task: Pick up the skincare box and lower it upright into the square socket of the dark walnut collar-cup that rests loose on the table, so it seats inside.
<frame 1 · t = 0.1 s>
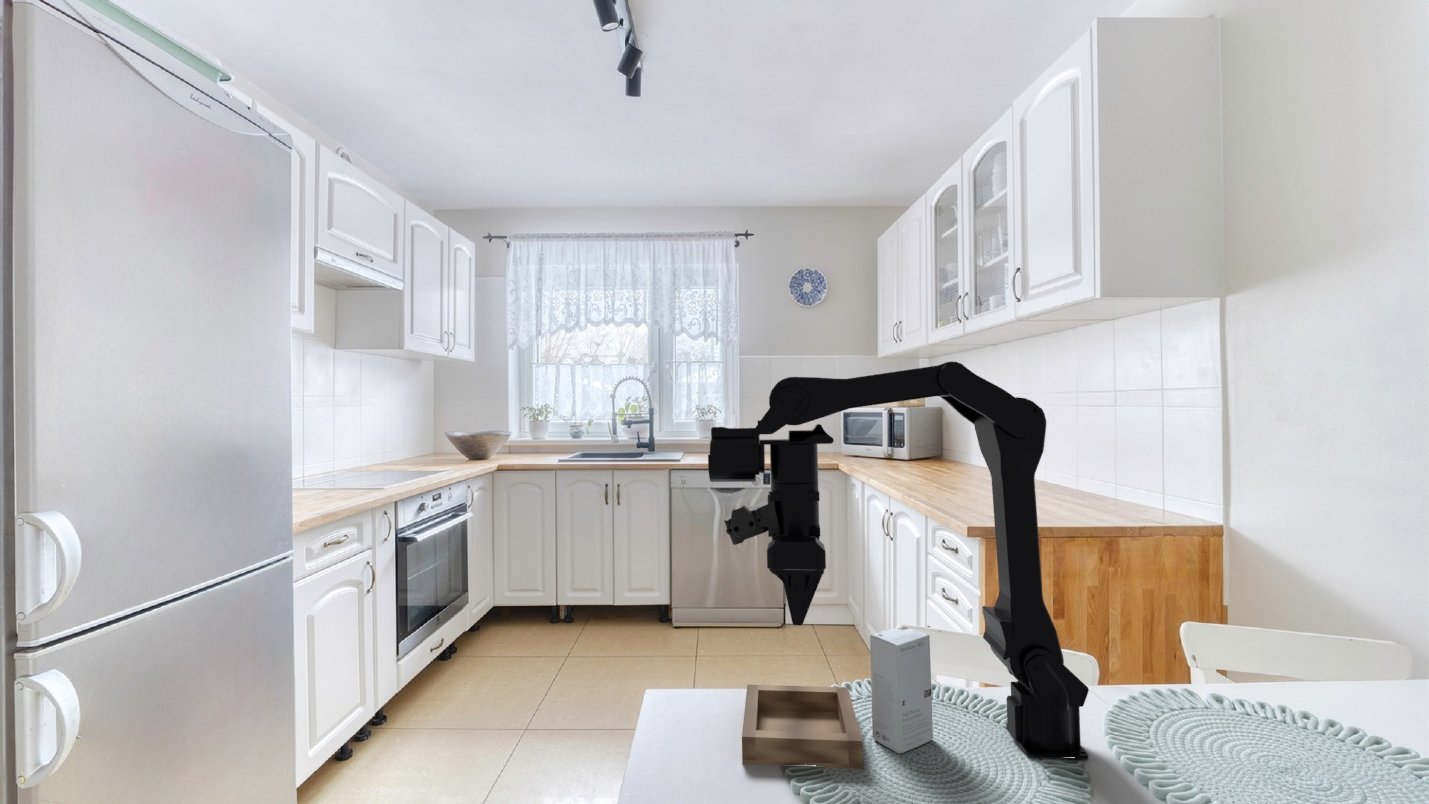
hand: (797, 611, 72), 15 cm above the table, fingers open, 9 cm apart
skincare box: (902, 740, 70), on the table
walnut collar: (799, 738, 71), on the table
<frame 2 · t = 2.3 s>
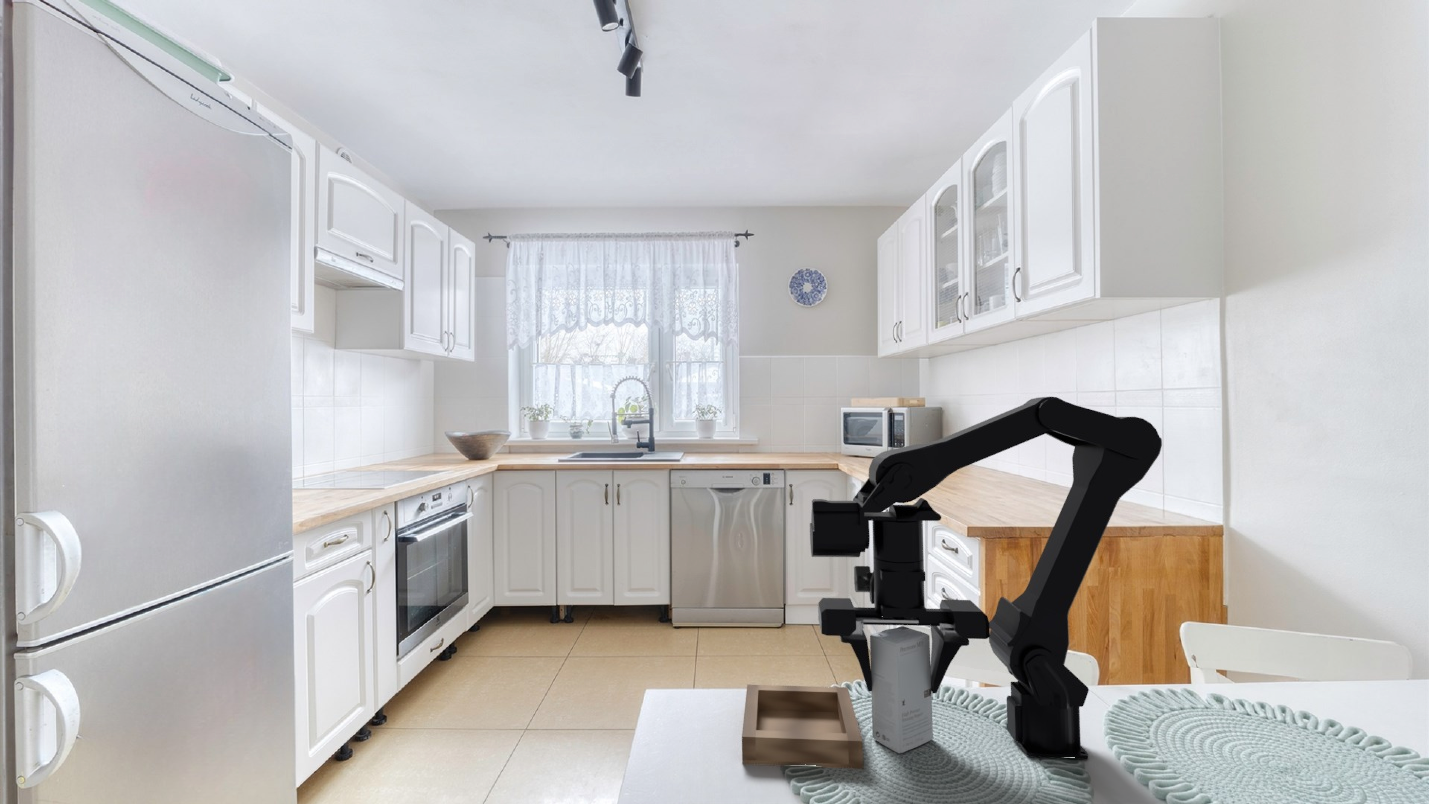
hand: (901, 690, 70), 6 cm above the table, fingers closed on skincare box, 7 cm apart
skincare box: (902, 740, 70), on the table, touching gripper
everything else where it was.
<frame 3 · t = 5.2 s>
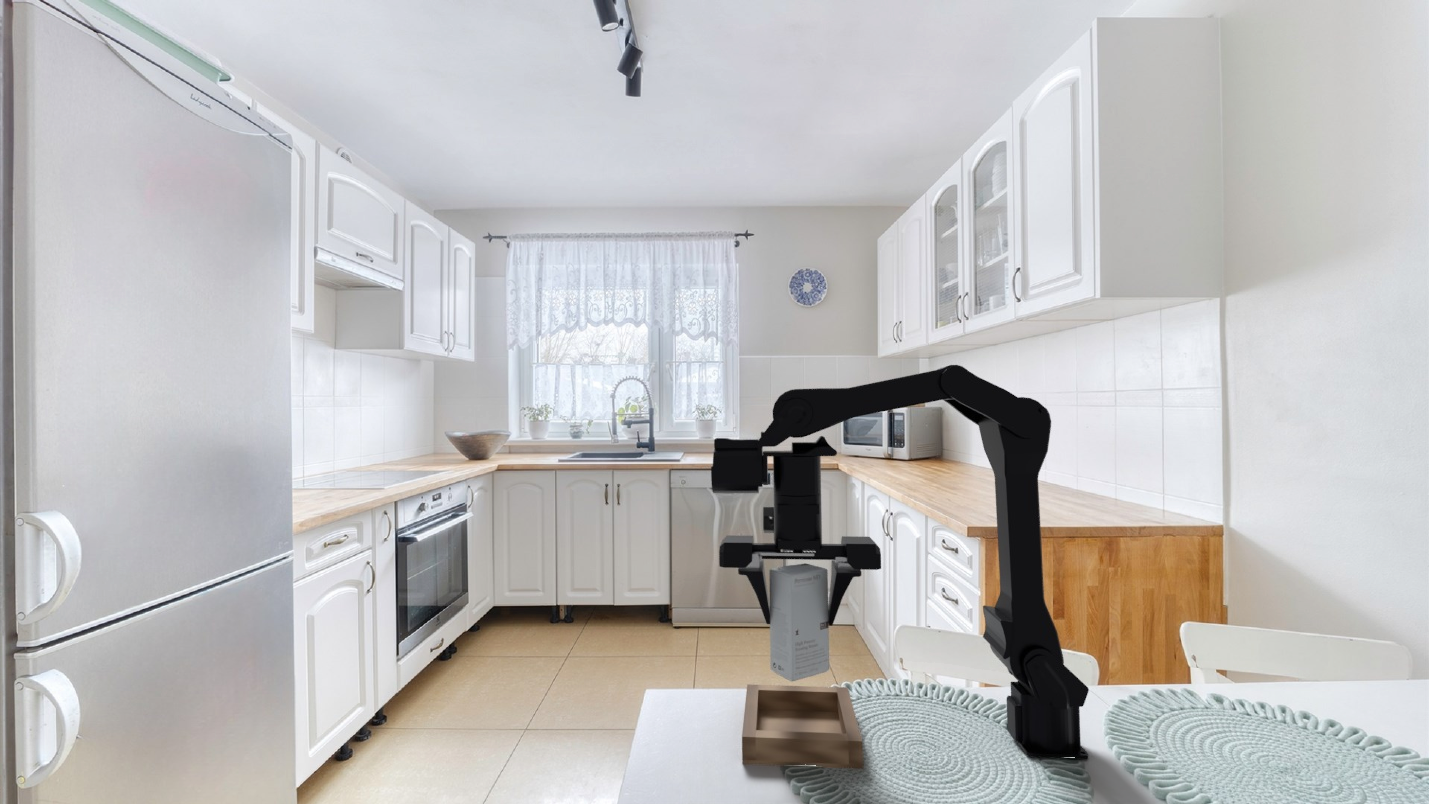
hand: (799, 623, 72), 13 cm above the table, fingers closed on skincare box, 7 cm apart
skincare box: (800, 672, 71), point 7 cm above the table, touching gripper
everything else where it was.
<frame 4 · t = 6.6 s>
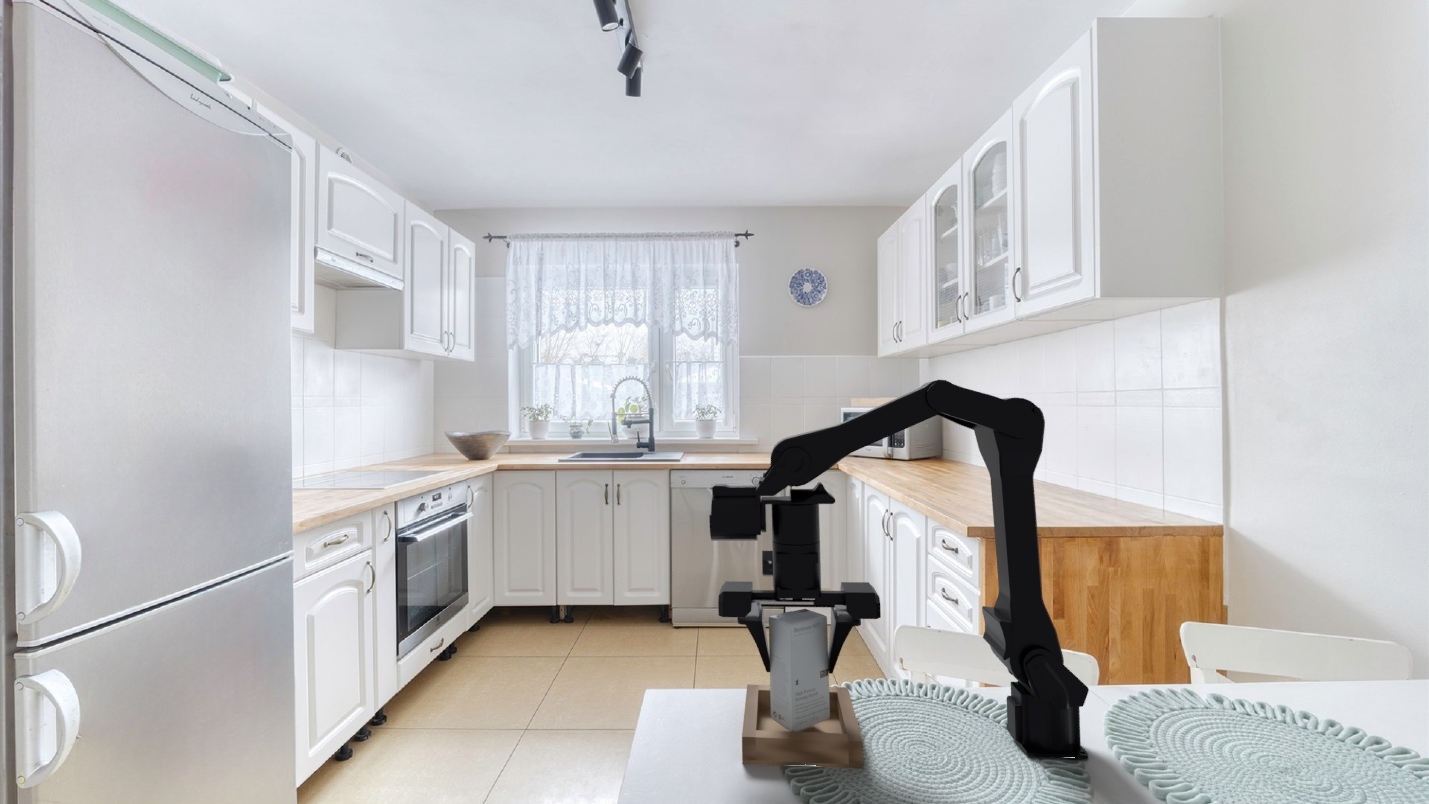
hand: (799, 671, 71), 7 cm above the table, fingers closed on skincare box, 7 cm apart
skincare box: (800, 720, 71), point 2 cm above the table, touching gripper
everything else where it was.
when the fingers open (7 cm above the table, at t = 7.9 s): skincare box drops 2 cm, resting on walnut collar.
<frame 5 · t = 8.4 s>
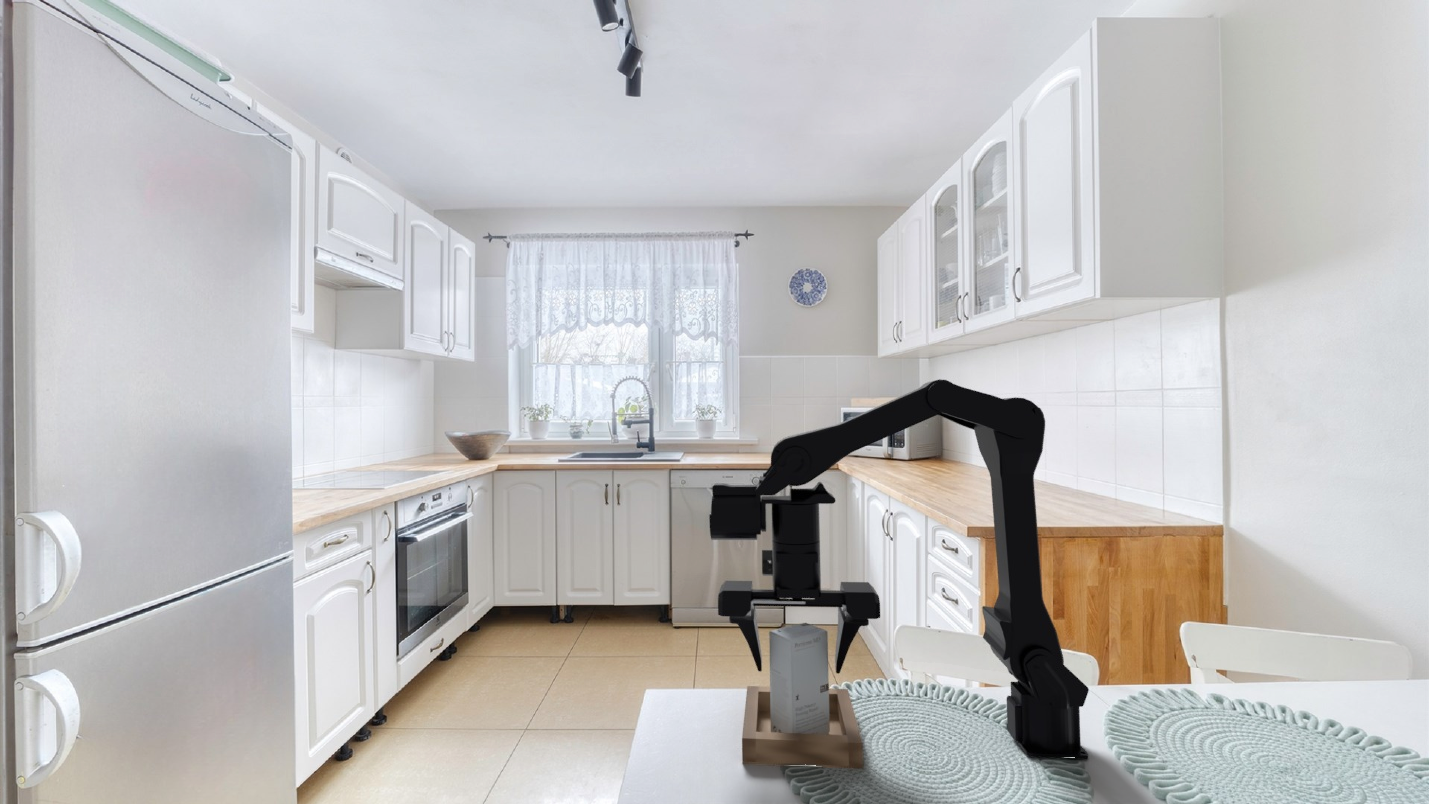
hand: (798, 671, 71), 7 cm above the table, fingers open, 9 cm apart
skincare box: (800, 734, 71), resting on walnut collar
walnut collar: (799, 739, 71), on the table, touching skincare box
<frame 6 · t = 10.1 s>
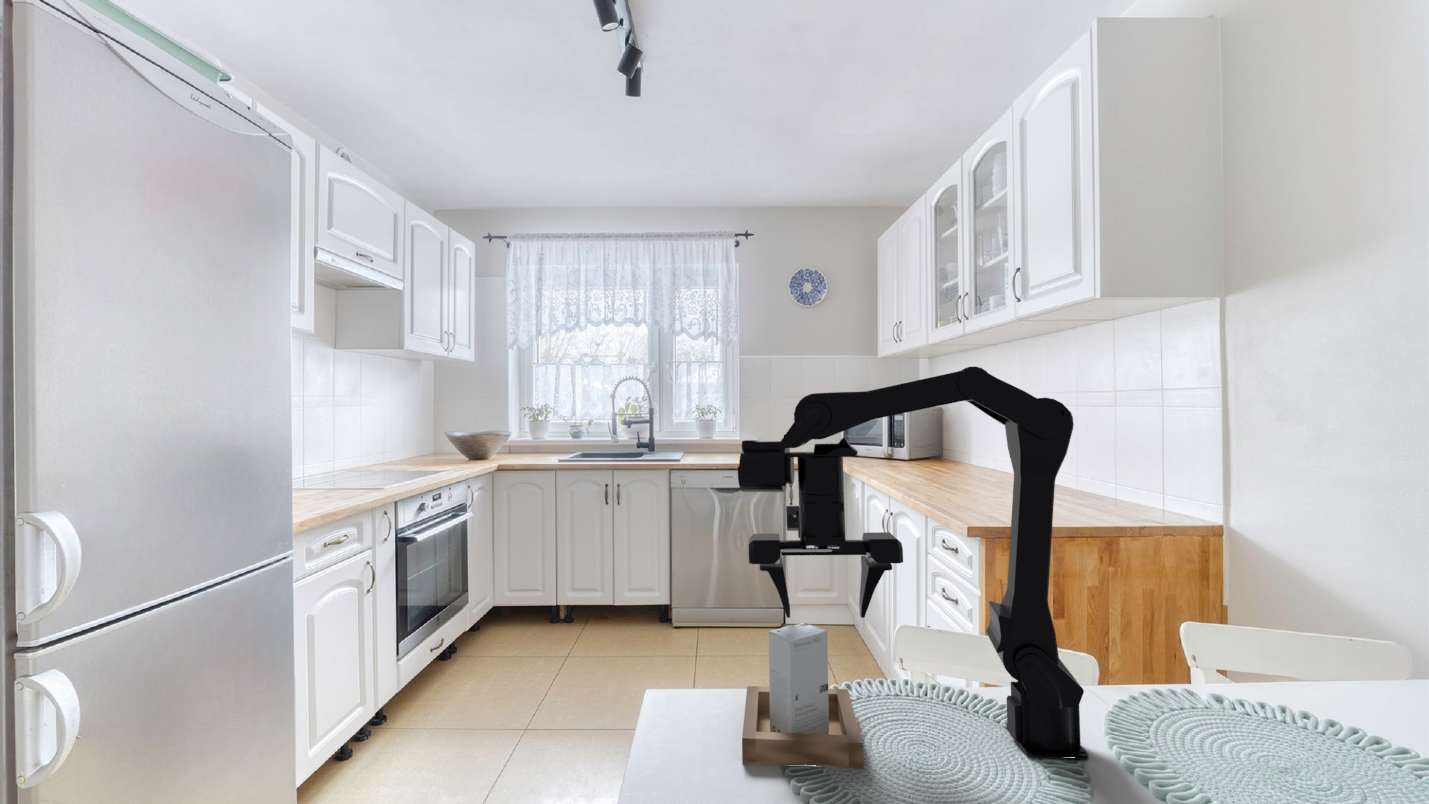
hand: (825, 616, 75), 13 cm above the table, fingers open, 9 cm apart
nothing on the table moved.
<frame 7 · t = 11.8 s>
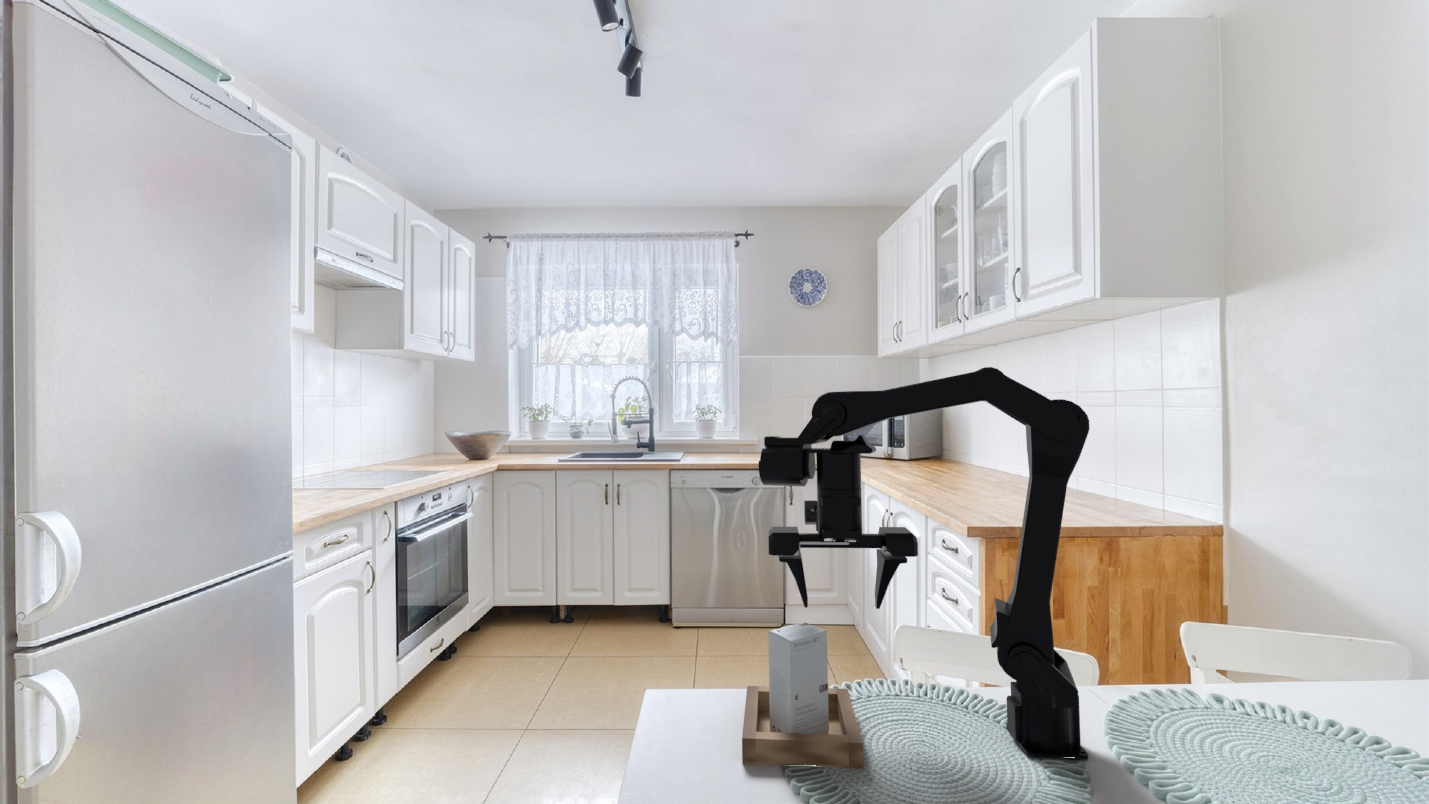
hand: (841, 607, 78), 13 cm above the table, fingers open, 9 cm apart
nothing on the table moved.
at the end: skincare box 0.0 cm off-centre on the walnut collar, point 0.6 cm above the walnut collar's base; skincare box tilted 0°; walnut collar moved 0.6 cm from its start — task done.
